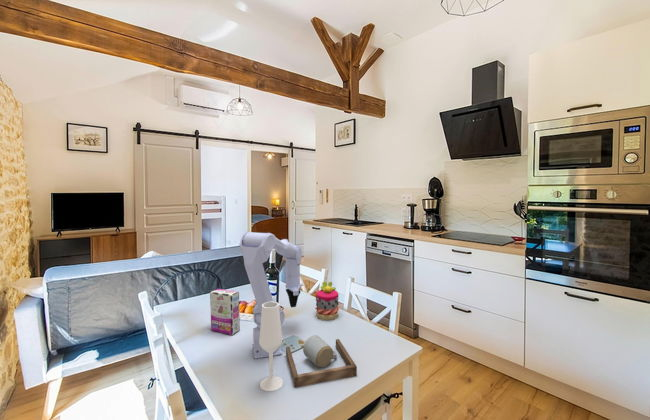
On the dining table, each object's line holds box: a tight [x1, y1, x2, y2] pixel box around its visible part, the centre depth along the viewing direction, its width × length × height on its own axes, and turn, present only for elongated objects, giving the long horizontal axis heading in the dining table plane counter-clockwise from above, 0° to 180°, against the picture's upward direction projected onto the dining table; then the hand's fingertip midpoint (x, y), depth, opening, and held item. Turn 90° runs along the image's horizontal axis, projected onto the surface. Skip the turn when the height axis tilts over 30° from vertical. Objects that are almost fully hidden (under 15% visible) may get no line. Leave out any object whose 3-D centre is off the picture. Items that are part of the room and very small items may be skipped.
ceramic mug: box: [302, 334, 338, 368], centre depth 97 cm, size 11×8×8 cm
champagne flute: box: [259, 301, 284, 392], centre depth 84 cm, size 7×7×24 cm
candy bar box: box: [209, 288, 241, 336], centre depth 117 cm, size 11×5×16 cm, turn 68°
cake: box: [315, 281, 340, 321], centre depth 131 cm, size 10×11×15 cm
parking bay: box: [285, 338, 358, 388], centre depth 94 cm, size 19×17×3 cm
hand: (293, 306), depth 119 cm, fingers closed
